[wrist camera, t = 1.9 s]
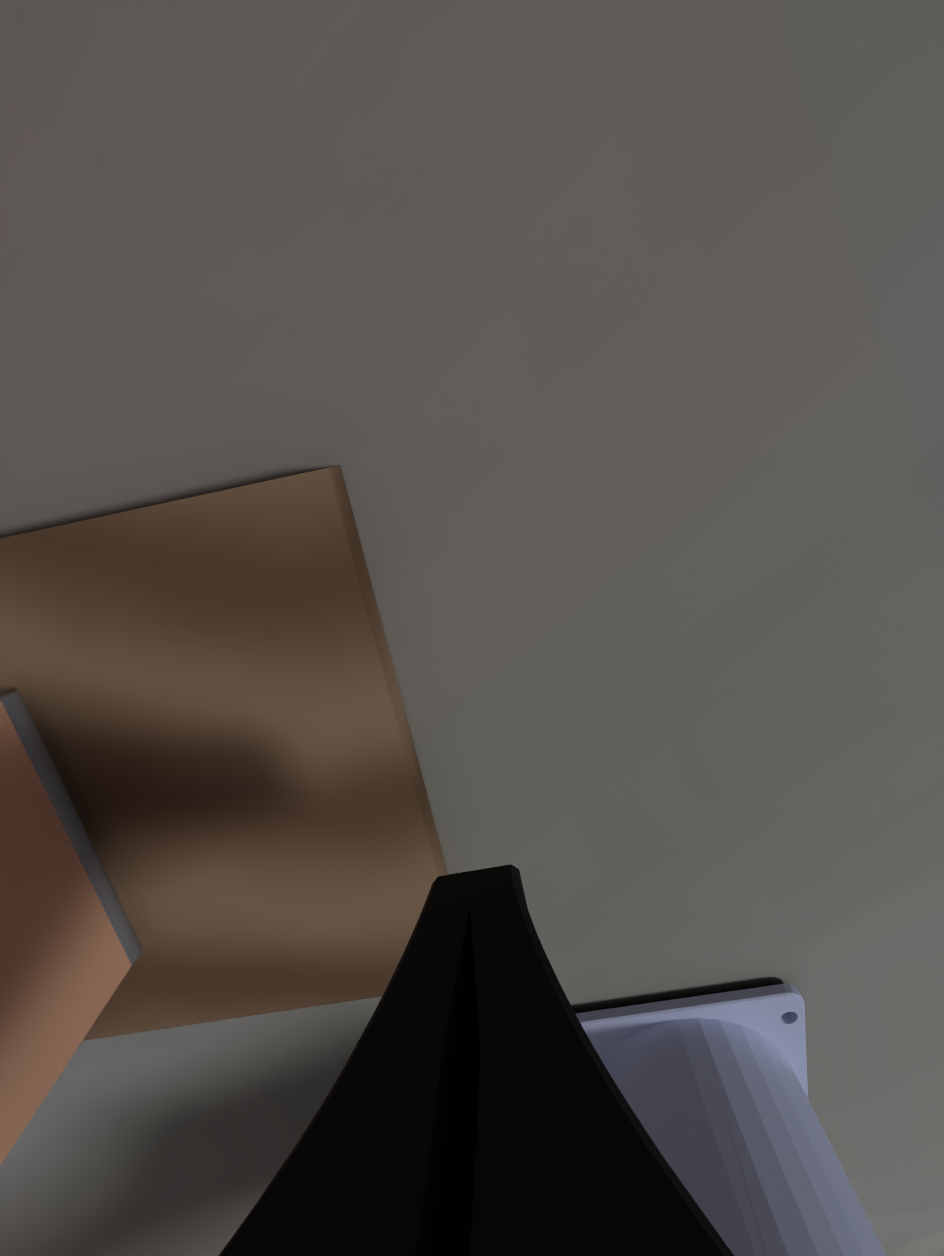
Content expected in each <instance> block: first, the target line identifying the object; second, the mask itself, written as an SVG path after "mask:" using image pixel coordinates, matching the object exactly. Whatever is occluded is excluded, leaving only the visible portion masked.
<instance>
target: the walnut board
mask: <svg viewBox="0 0 944 1256" xmlns="http://www.w3.org/2000/svg"><path fill="white" fill-rule="evenodd" d="M10 690H19V692H20V694H21V696H22V698H23V700H24V702H25V704H26V706H27V709H28V711H29V713H30V715H31V717H32V719H33V721H34V723H35V725H36V727H37V729H38V731H39V733H40V736H41V738H42V740H43V742H44V744H45V746H46V748H47V750H48V752H49V754H50V756H51V758H52V760H53V763H54V765H55V767H56V769H57V771H58V773H59V775H60V777H61V779H62V781H63V783H64V785H65V787H66V790H67V792H68V794H69V796H70V798H71V800H72V802H73V804H74V806H75V808H76V810H77V812H78V814H79V817H80V819H81V821H82V823H83V825H84V827H85V829H86V831H87V833H88V835H89V837H90V839H91V841H92V844H93V846H94V848H95V850H96V852H97V854H98V856H99V858H100V860H101V862H102V864H103V866H104V868H105V871H106V873H107V875H108V877H109V879H110V881H111V883H112V885H113V887H114V889H115V891H116V893H117V895H118V898H119V900H120V902H121V904H122V906H123V908H124V910H125V912H126V914H127V916H128V918H129V920H130V922H131V925H132V927H133V929H134V931H135V933H136V935H137V937H138V939H139V941H140V943H141V945H142V952H141V954H140V956H139V957H138V959H137V960H136V961H135V962H134V963H133V964H131V965H132V966H131V967H130V969H129V970H128V972H127V973H126V975H125V976H124V978H123V979H122V981H121V983H120V984H119V986H118V987H117V989H116V990H115V992H114V993H113V995H112V996H111V998H110V999H109V1001H108V1002H107V1004H106V1005H105V1007H104V1008H103V1010H102V1011H101V1013H100V1014H99V1016H98V1017H97V1019H96V1020H95V1022H94V1024H93V1025H92V1027H91V1028H90V1030H89V1031H88V1033H87V1034H86V1036H85V1037H84V1039H83V1040H90V1039H97V1038H103V1037H110V1036H117V1035H124V1034H130V1033H137V1032H144V1031H150V1030H157V1029H164V1028H171V1027H177V1026H184V1025H191V1024H198V1023H204V1022H211V1021H218V1020H224V1019H231V1018H238V1017H245V1016H251V1015H258V1014H265V1013H272V1012H278V1011H285V1010H292V1009H298V1008H305V1007H312V1006H319V1005H325V1004H332V1003H339V1002H346V1001H352V1000H359V999H366V998H372V997H379V996H383V994H384V992H385V990H386V988H387V986H388V984H389V982H390V980H391V978H392V976H393V974H394V972H395V969H396V967H397V965H398V963H399V961H400V959H401V957H402V955H403V953H404V951H405V948H406V946H407V944H408V942H409V939H410V937H411V935H412V933H413V930H414V928H415V926H416V923H417V921H418V919H419V916H420V914H421V911H422V909H423V907H424V904H425V901H426V899H427V896H428V894H429V891H430V889H431V886H432V883H433V882H434V881H435V879H436V878H437V877H438V876H444V875H448V872H447V868H446V865H445V861H444V857H443V853H442V850H441V846H440V842H439V838H438V834H437V831H436V827H435V823H434V819H433V815H432V812H431V808H430V804H429V800H428V796H427V793H426V789H425V785H424V781H423V778H422V774H421V770H420V766H419V762H418V759H417V755H416V751H415V747H414V743H413V740H412V736H411V732H410V728H409V724H408V721H407V717H406V713H405V709H404V706H403V702H402V698H401V694H400V690H399V687H398V683H397V679H396V675H395V671H394V668H393V664H392V660H391V656H390V653H389V649H388V645H387V641H386V637H385V634H384V630H383V626H382V622H381V618H380V615H379V611H378V607H377V603H376V599H375V596H374V592H373V588H372V584H371V581H370V577H369V573H368V569H367V565H366V562H365V558H364V554H363V550H362V546H361V543H360V539H359V535H358V531H357V527H356V524H355V520H354V516H353V512H352V509H351V505H350V501H349V497H348V493H347V490H346V486H345V482H344V478H343V474H342V471H341V467H340V466H335V467H329V468H324V469H320V470H315V471H310V472H306V473H301V474H296V475H292V476H287V477H283V478H278V479H273V480H269V481H264V482H259V483H255V484H250V485H245V486H241V487H236V488H231V489H227V490H222V491H218V492H213V493H208V494H204V495H199V496H194V497H190V498H185V499H180V500H176V501H171V502H166V503H162V504H157V505H153V506H148V507H143V508H139V509H134V510H129V511H125V512H120V513H115V514H111V515H106V516H102V517H97V518H92V519H88V520H83V521H78V522H74V523H69V524H64V525H60V526H55V527H50V528H46V529H41V530H37V531H32V532H27V533H23V534H18V535H13V536H9V537H4V538H0V693H2V692H5V691H10ZM83 1040H82V1041H83Z"/></svg>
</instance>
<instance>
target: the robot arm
mask: <svg viewBox="0 0 944 1256" xmlns="http://www.w3.org/2000/svg"><path fill="white" fill-rule="evenodd" d="M219 1256H887V1255H886V1253H885V1251H884V1249H883V1247H882V1246H881V1244H880V1242H879V1240H878V1238H877V1236H876V1234H875V1232H874V1230H873V1228H872V1226H871V1224H870V1222H869V1220H868V1218H867V1216H866V1214H865V1212H864V1210H863V1208H862V1206H861V1204H860V1202H859V1200H858V1198H857V1196H856V1194H855V1192H854V1190H853V1188H852V1186H851V1184H850V1182H849V1180H848V1178H847V1176H846V1174H845V1172H844V1170H843V1168H842V1166H841V1164H840V1162H839V1160H838V1158H837V1156H836V1154H835V1152H834V1150H833V1148H832V1146H831V1144H830V1142H829V1140H828V1138H827V1136H826V1134H825V1132H824V1130H823V1128H822V1126H821V1124H820V1122H819V1120H818V1118H817V1116H816V1114H815V1112H814V1110H813V1108H812V1106H811V1104H810V1102H809V1100H808V1085H807V1060H806V1035H805V1010H804V1000H803V998H802V996H801V994H800V992H799V991H798V989H797V988H796V987H795V986H793V985H790V984H778V985H771V986H764V987H757V988H750V989H743V990H736V991H729V992H722V993H715V994H708V995H701V996H694V997H687V998H680V999H673V1000H666V1001H659V1002H652V1003H645V1004H638V1005H631V1006H624V1007H617V1008H610V1009H603V1010H596V1011H589V1012H582V1013H575V1012H574V1010H573V1009H572V1007H571V1005H570V1003H569V1001H568V999H567V997H566V995H565V993H564V991H563V989H562V987H561V985H560V983H559V981H558V979H557V977H556V975H555V973H554V971H553V968H552V966H551V964H550V962H549V960H548V958H547V956H546V953H545V951H544V949H543V947H542V945H541V942H540V940H539V938H538V935H537V933H536V930H535V928H534V925H533V922H532V920H531V917H530V914H529V911H528V908H527V904H526V899H525V895H524V890H523V885H522V881H521V876H520V872H519V869H517V868H516V867H514V866H513V865H505V866H499V867H493V868H487V869H481V870H475V871H468V872H462V873H456V874H450V875H444V876H438V877H437V878H436V879H435V881H434V882H433V883H432V886H431V889H430V891H429V894H428V896H427V899H426V901H425V904H424V907H423V909H422V911H421V914H420V916H419V919H418V921H417V923H416V926H415V928H414V930H413V933H412V935H411V937H410V939H409V942H408V944H407V946H406V948H405V951H404V953H403V955H402V957H401V959H400V961H399V963H398V965H397V967H396V969H395V972H394V974H393V976H392V978H391V980H390V982H389V984H388V986H387V988H386V990H385V992H384V994H383V996H382V998H381V1000H380V1002H379V1004H378V1006H377V1008H376V1010H375V1012H374V1014H373V1016H372V1017H371V1019H370V1021H369V1023H368V1025H367V1027H366V1028H365V1030H364V1032H363V1034H362V1036H361V1038H360V1040H359V1041H358V1043H357V1045H356V1047H355V1049H354V1051H353V1052H352V1054H351V1056H350V1058H349V1060H348V1062H347V1063H346V1065H345V1067H344V1068H343V1070H342V1072H341V1074H340V1075H339V1077H338V1079H337V1080H336V1082H335V1084H334V1085H333V1087H332V1089H331V1091H330V1092H329V1094H328V1095H327V1097H326V1099H325V1100H324V1102H323V1104H322V1105H321V1107H320V1109H319V1110H318V1112H317V1113H316V1115H315V1116H314V1118H313V1120H312V1121H311V1123H310V1124H309V1126H308V1127H307V1129H306V1131H305V1132H304V1134H303V1135H302V1137H301V1138H300V1140H299V1142H298V1143H297V1145H296V1146H295V1148H294V1149H293V1151H292V1152H291V1154H290V1155H289V1157H288V1158H287V1159H286V1161H285V1162H284V1164H283V1165H282V1167H281V1168H280V1170H279V1171H278V1173H277V1174H276V1176H275V1177H274V1178H273V1180H272V1181H271V1183H270V1184H269V1186H268V1187H267V1189H266V1190H265V1192H264V1193H263V1194H262V1196H261V1197H260V1199H259V1200H258V1202H257V1203H256V1205H255V1206H254V1208H253V1209H252V1210H251V1212H250V1213H249V1215H248V1216H247V1217H246V1219H245V1220H244V1222H243V1223H242V1224H241V1226H240V1227H239V1229H238V1230H237V1231H236V1233H235V1234H234V1235H233V1237H232V1238H231V1240H230V1241H229V1242H228V1244H227V1245H226V1246H225V1248H224V1249H223V1250H222V1252H221V1253H220V1254H219Z"/></svg>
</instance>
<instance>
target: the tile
mask: <svg viewBox="0 0 944 1256" xmlns="http://www.w3.org/2000/svg"><path fill="white" fill-rule="evenodd" d="M141 952H142V945H141V943H140V941H139V939H138V937H137V935H136V933H135V931H134V929H133V927H132V925H131V922H130V920H129V918H128V916H127V914H126V912H125V910H124V908H123V906H122V904H121V902H120V900H119V898H118V895H117V893H116V891H115V889H114V887H113V885H112V883H111V881H110V879H109V877H108V875H107V873H106V871H105V868H104V866H103V864H102V862H101V860H100V858H99V856H98V854H97V852H96V850H95V848H94V846H93V844H92V841H91V839H90V837H89V835H88V833H87V831H86V829H85V827H84V825H83V823H82V821H81V819H80V817H79V814H78V812H77V810H76V808H75V806H74V804H73V802H72V800H71V798H70V796H69V794H68V792H67V790H66V787H65V785H64V783H63V781H62V779H61V777H60V775H59V773H58V771H57V769H56V767H55V765H54V763H53V760H52V758H51V756H50V754H49V752H48V750H47V748H46V746H45V744H44V742H43V740H42V738H41V736H40V733H39V731H38V729H37V727H36V725H35V723H34V721H33V719H32V717H31V715H30V713H29V711H28V709H27V706H26V704H25V702H24V700H23V698H22V696H21V694H20V692H19V690H10V691H5V692H2V693H0V1165H1V1163H2V1162H3V1160H4V1159H5V1157H6V1156H7V1154H8V1153H9V1151H10V1150H11V1148H12V1147H13V1145H14V1144H15V1142H16V1141H17V1139H18V1137H19V1136H20V1134H21V1133H22V1131H23V1130H24V1128H25V1127H26V1125H27V1124H28V1122H29V1121H30V1119H31V1118H32V1116H33V1115H34V1113H35V1112H36V1110H37V1109H38V1107H39V1106H40V1104H41V1103H42V1101H43V1099H44V1098H45V1096H46V1095H47V1093H48V1092H49V1090H50V1089H51V1087H52V1086H53V1084H54V1083H55V1081H56V1080H57V1078H58V1077H59V1075H60V1074H61V1072H62V1071H63V1069H64V1068H65V1066H66V1065H67V1063H68V1062H69V1060H70V1058H71V1057H72V1055H73V1054H74V1052H75V1051H76V1049H77V1048H78V1046H79V1045H80V1043H81V1042H82V1040H83V1039H84V1037H85V1036H86V1034H87V1033H88V1031H89V1030H90V1028H91V1027H92V1025H93V1024H94V1022H95V1020H96V1019H97V1017H98V1016H99V1014H100V1013H101V1011H102V1010H103V1008H104V1007H105V1005H106V1004H107V1002H108V1001H109V999H110V998H111V996H112V995H113V993H114V992H115V990H116V989H117V987H118V986H119V984H120V983H121V981H122V979H123V978H124V976H125V975H126V973H127V972H128V970H129V969H130V967H131V966H132V965H131V964H133V963H134V962H135V961H136V960H137V959H138V957H139V956H140V954H141Z"/></svg>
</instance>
